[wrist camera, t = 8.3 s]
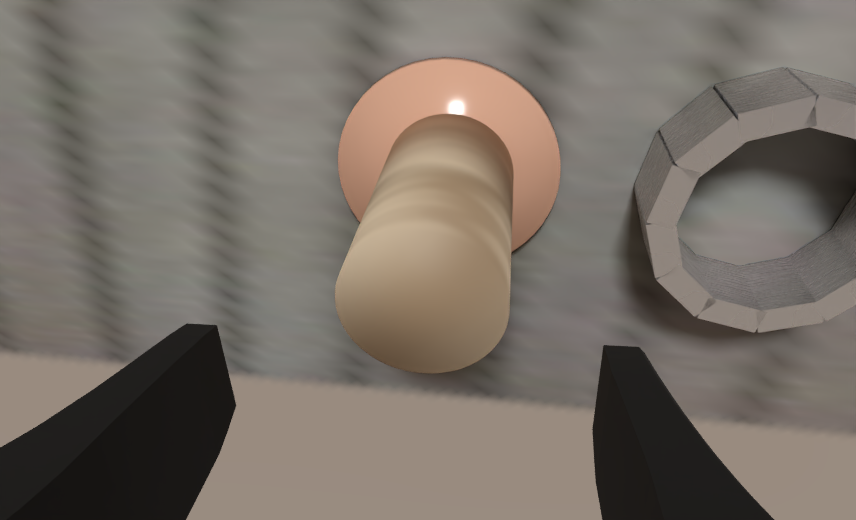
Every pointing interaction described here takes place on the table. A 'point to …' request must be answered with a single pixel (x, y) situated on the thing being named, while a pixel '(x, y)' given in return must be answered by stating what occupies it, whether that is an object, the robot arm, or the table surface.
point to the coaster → (464, 95)
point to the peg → (433, 250)
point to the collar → (703, 149)
